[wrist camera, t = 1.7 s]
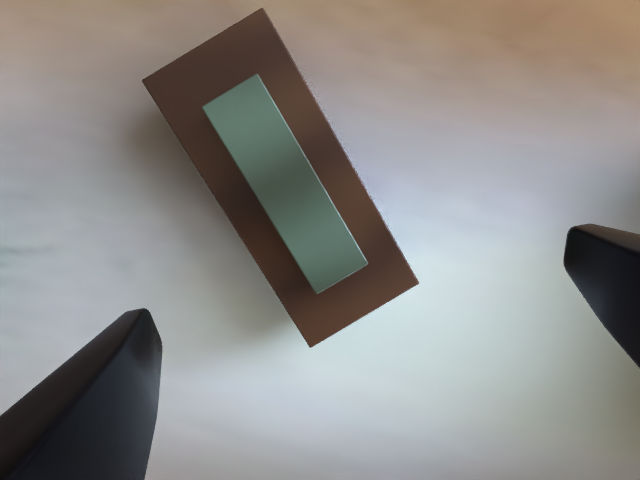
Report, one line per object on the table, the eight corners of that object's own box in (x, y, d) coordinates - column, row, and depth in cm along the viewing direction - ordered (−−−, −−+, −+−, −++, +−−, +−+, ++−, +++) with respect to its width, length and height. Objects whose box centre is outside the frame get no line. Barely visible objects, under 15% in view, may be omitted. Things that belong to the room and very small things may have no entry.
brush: (401, 268, 24) (430, 292, 19) (307, 324, 24) (311, 362, 19) (266, 32, 22) (260, -10, 17) (163, 94, 22) (127, 71, 17)
